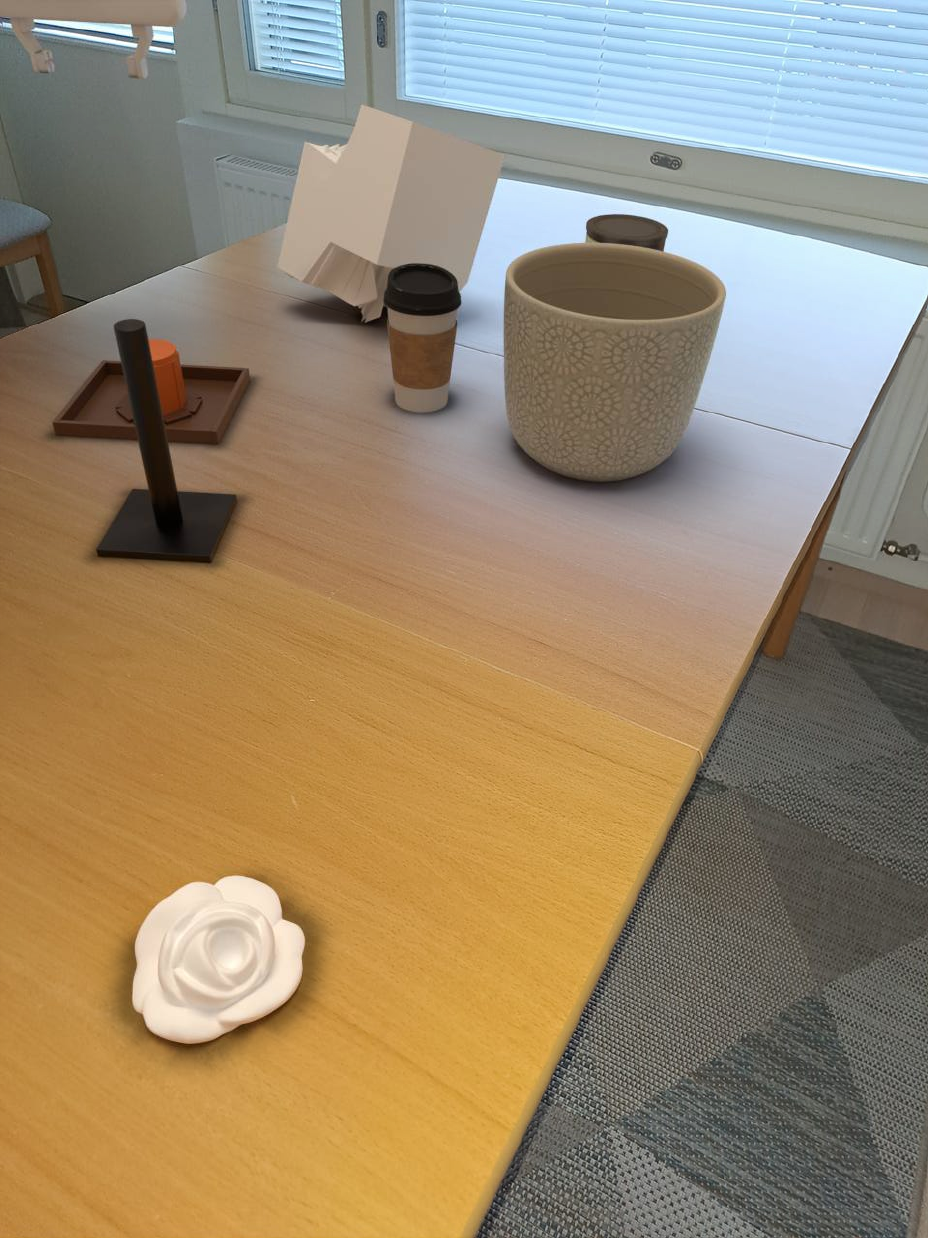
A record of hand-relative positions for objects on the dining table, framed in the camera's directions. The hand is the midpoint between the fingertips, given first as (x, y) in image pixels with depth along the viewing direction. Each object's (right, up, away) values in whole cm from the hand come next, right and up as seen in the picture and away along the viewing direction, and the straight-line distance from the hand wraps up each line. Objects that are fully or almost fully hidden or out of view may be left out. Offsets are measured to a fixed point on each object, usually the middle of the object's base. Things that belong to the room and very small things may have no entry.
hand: (91, 74), depth 91 cm
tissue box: (+26, -12, +35) cm, 46 cm away
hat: (+3, -31, +10) cm, 33 cm away
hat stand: (+10, -47, -7) cm, 48 cm away
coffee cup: (+32, -30, +15) cm, 46 cm away
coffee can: (+57, -16, +33) cm, 68 cm away
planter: (+51, -37, +8) cm, 63 cm away
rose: (+23, -75, -39) cm, 87 cm away
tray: (+3, -31, +11) cm, 33 cm away
